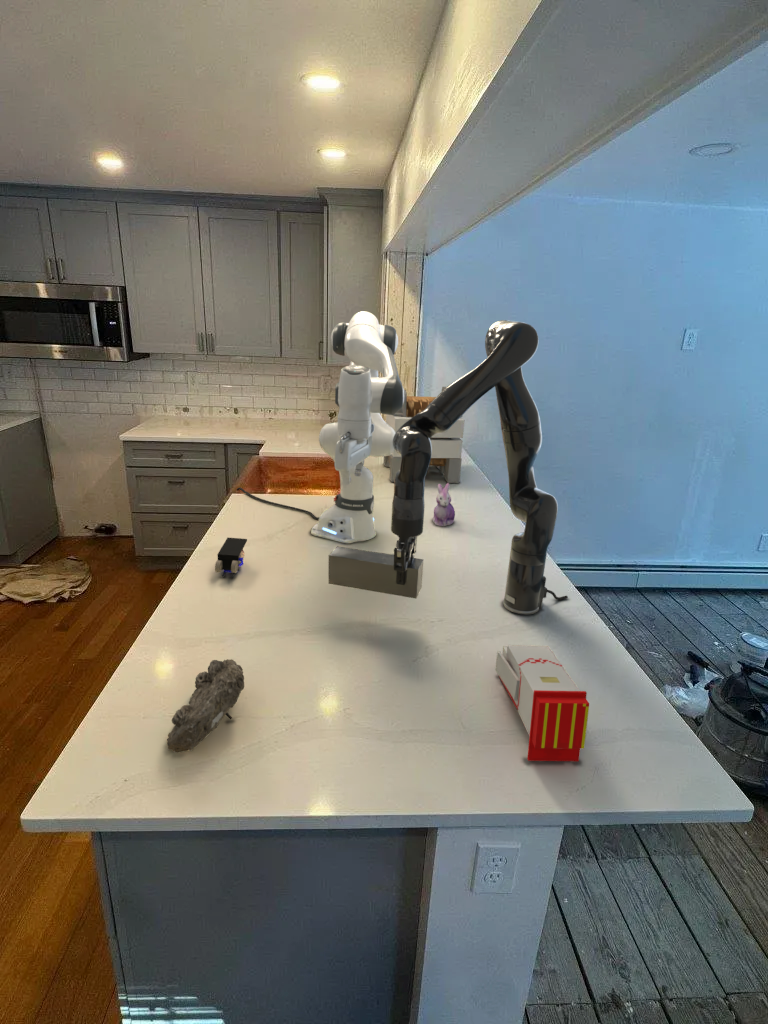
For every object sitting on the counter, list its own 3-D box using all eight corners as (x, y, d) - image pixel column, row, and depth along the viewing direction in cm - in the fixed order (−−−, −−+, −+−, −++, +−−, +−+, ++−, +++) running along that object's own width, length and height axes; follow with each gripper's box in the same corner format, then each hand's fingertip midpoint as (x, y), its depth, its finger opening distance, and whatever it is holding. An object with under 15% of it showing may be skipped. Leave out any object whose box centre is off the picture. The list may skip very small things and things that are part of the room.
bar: (328, 583, 141) (328, 555, 138) (336, 573, 146) (336, 546, 143) (416, 598, 135) (418, 569, 133) (421, 587, 141) (423, 559, 138)
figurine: (440, 528, 206) (443, 489, 201) (425, 519, 214) (428, 481, 209) (461, 525, 210) (465, 486, 205) (446, 516, 219) (449, 478, 214)
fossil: (192, 660, 117) (244, 628, 112) (224, 691, 120) (276, 661, 115) (142, 746, 98) (202, 712, 93) (182, 779, 101) (242, 748, 96)
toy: (545, 627, 125) (599, 699, 96) (539, 683, 128) (590, 769, 99) (490, 626, 125) (528, 698, 96) (486, 682, 128) (522, 768, 98)
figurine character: (238, 584, 162) (249, 557, 175) (236, 562, 158) (247, 536, 172) (215, 584, 161) (227, 556, 175) (212, 561, 158) (225, 535, 171)
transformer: (382, 463, 289) (386, 382, 275) (445, 464, 293) (451, 384, 279) (390, 482, 257) (394, 392, 243) (460, 483, 261) (468, 394, 247)
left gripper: (352, 437, 139) (351, 491, 144) (376, 424, 158) (374, 472, 163) (328, 434, 141) (328, 488, 145) (354, 422, 160) (353, 470, 164)
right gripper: (416, 525, 125) (412, 594, 130) (429, 505, 138) (425, 568, 143) (383, 521, 126) (381, 588, 132) (400, 502, 139) (396, 564, 145)
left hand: (352, 479), depth 154 cm, fingers open, 8 cm apart
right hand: (404, 578), depth 138 cm, fingers closed on bar, 6 cm apart
